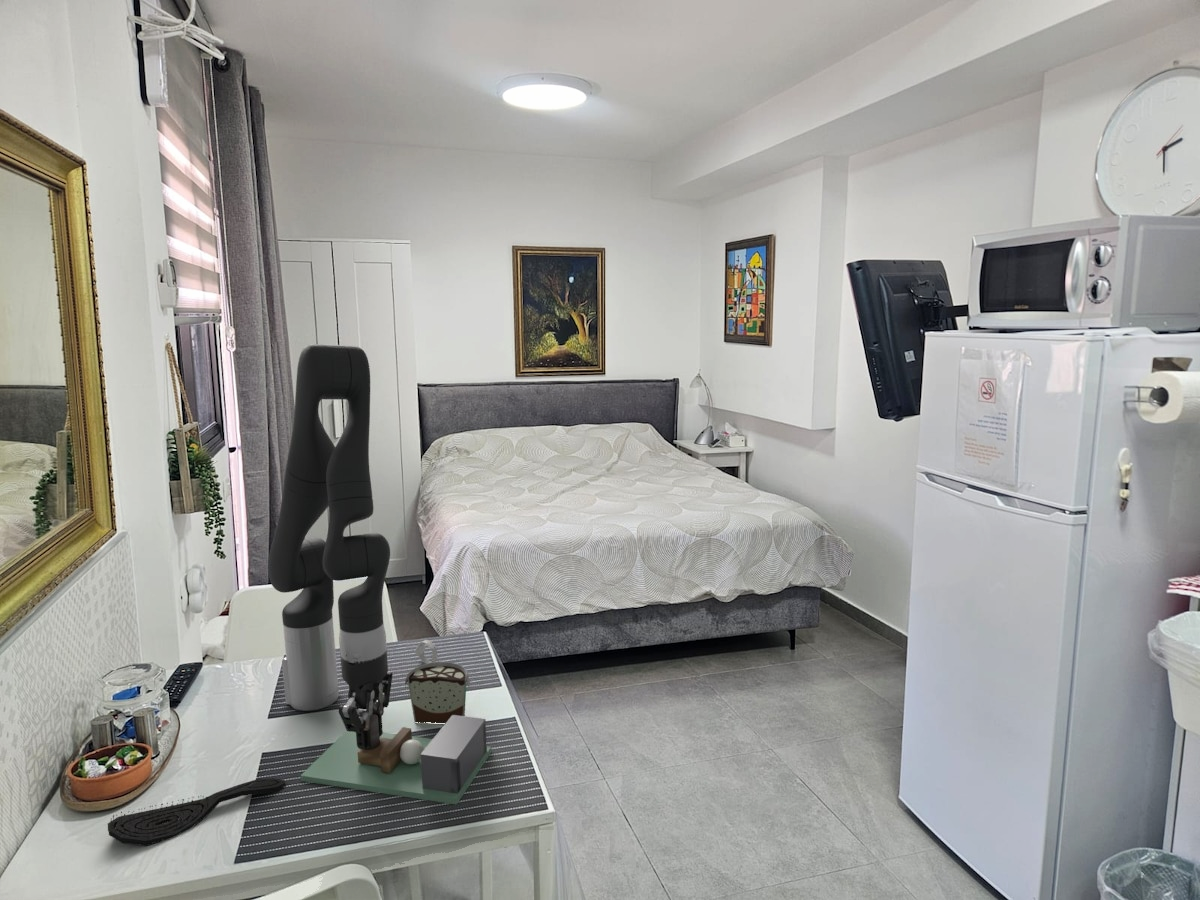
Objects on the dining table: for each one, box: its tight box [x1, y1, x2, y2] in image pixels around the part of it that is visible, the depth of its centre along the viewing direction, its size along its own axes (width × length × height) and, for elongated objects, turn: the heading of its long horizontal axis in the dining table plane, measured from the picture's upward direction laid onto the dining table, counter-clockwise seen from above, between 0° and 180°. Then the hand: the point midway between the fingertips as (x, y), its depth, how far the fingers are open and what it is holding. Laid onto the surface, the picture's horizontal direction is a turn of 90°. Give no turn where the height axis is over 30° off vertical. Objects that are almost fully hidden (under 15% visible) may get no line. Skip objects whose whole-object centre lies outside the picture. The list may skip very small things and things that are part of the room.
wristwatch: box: [414, 639, 438, 664], centre depth 172 cm, size 3×5×5 cm, turn 54°
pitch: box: [300, 730, 492, 805], centre depth 135 cm, size 28×15×1 cm, turn 76°
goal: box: [420, 715, 488, 794], centre depth 132 cm, size 6×12×6 cm, turn 166°
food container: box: [404, 661, 471, 723], centre depth 150 cm, size 12×6×10 cm, turn 84°
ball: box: [400, 739, 424, 764], centre depth 134 cm, size 4×4×4 cm
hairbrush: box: [107, 777, 286, 847], centre depth 123 cm, size 8×4×25 cm
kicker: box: [357, 714, 413, 773], centre depth 135 cm, size 7×8×7 cm
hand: (370, 741), depth 135 cm, fingers closed on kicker, 3 cm apart
